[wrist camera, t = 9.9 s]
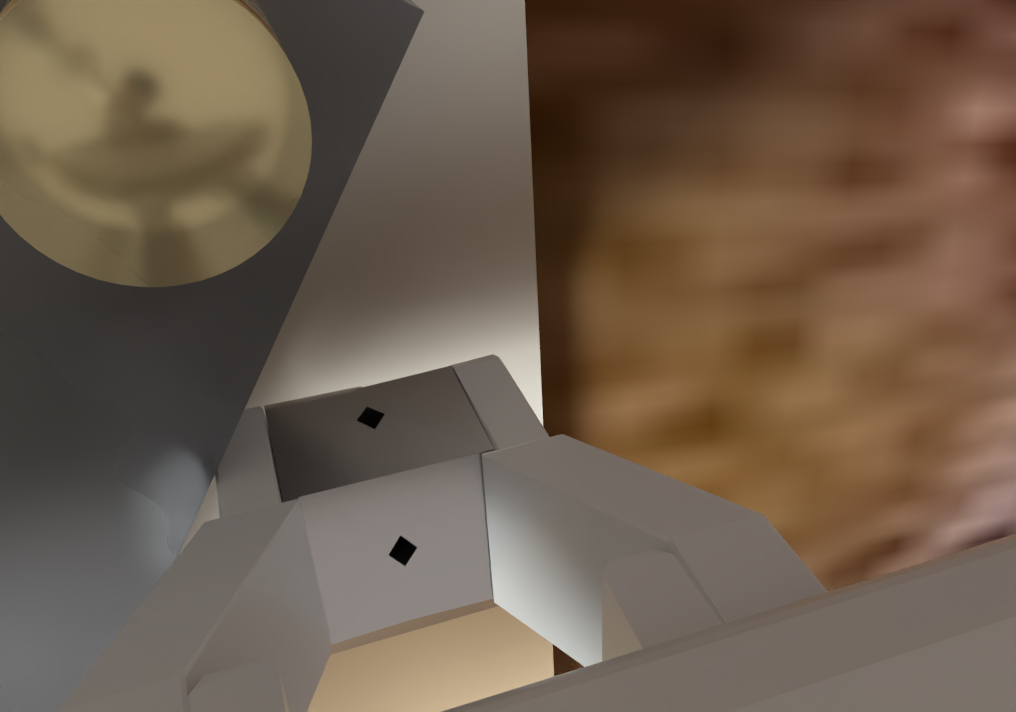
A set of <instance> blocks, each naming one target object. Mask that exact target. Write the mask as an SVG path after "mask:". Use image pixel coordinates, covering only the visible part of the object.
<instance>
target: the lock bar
mask: <svg viewBox="0 0 1016 712" xmlns="http://www.w3.org/2000/svg"><path fill="white" fill-rule="evenodd" d="M423 14H424V11H423V10H422V9H421V8H420V7H419V6H417V5H416V4H415V3H414V2H413V1H411V0H0V712H57V711H58V710H59V709H60V707H61V706H62V705H63V704H64V702H65V701H66V700H67V698H68V697H69V696H70V695H71V693H72V692H73V691H74V689H75V688H76V687H77V686H78V684H79V683H80V682H81V680H82V679H83V678H84V677H85V675H86V674H87V673H88V671H89V670H90V669H91V668H92V666H93V665H94V664H95V662H96V661H97V660H98V659H99V657H100V656H101V655H102V653H103V652H104V651H105V650H106V648H107V647H108V646H109V644H110V643H111V642H112V641H113V639H114V638H115V637H116V635H117V634H118V633H119V632H120V630H121V629H122V628H123V626H124V625H125V624H126V622H127V621H128V620H129V619H130V617H131V616H132V615H133V613H134V612H135V611H136V610H137V608H138V607H139V606H140V604H141V603H142V602H143V601H144V599H145V598H146V597H147V595H148V594H149V593H150V592H151V590H152V589H153V588H154V586H155V585H156V584H157V583H158V581H159V580H160V579H161V577H162V576H163V575H164V574H165V572H166V571H167V570H168V568H169V567H170V566H171V565H172V563H173V562H174V561H175V559H176V558H177V557H178V555H179V553H180V551H181V548H182V546H183V544H184V542H185V540H186V537H187V535H188V533H189V531H190V528H191V526H192V524H193V522H194V520H195V517H196V515H197V513H198V511H199V509H200V506H201V504H202V502H203V500H204V498H205V495H206V493H207V491H208V489H209V486H210V484H211V482H212V480H213V478H214V475H215V473H216V471H217V469H218V467H219V464H220V462H221V460H222V458H223V456H224V453H225V451H226V449H227V447H228V444H229V442H230V440H231V438H232V436H233V433H234V431H235V429H236V427H237V425H238V422H239V420H240V418H241V416H242V414H243V411H244V409H245V407H246V405H247V403H248V400H249V398H250V396H251V394H252V391H253V389H254V387H255V385H256V383H257V380H258V378H259V376H260V374H261V372H262V369H263V367H264V365H265V363H266V361H267V358H268V356H269V354H270V352H271V349H272V347H273V345H274V343H275V341H276V338H277V336H278V334H279V332H280V330H281V327H282V325H283V323H284V321H285V319H286V316H287V314H288V312H289V310H290V307H291V305H292V303H293V301H294V299H295V296H296V294H297V292H298V290H299V288H300V285H301V283H302V281H303V279H304V277H305V274H306V272H307V270H308V268H309V265H310V263H311V261H312V259H313V257H314V254H315V252H316V250H317V248H318V246H319V243H320V241H321V239H322V237H323V235H324V232H325V230H326V228H327V226H328V223H329V221H330V219H331V217H332V215H333V212H334V210H335V208H336V206H337V204H338V201H339V199H340V197H341V195H342V193H343V190H344V188H345V186H346V184H347V182H348V179H349V177H350V175H351V173H352V170H353V168H354V166H355V164H356V162H357V159H358V157H359V155H360V153H361V151H362V148H363V146H364V144H365V142H366V140H367V137H368V135H369V133H370V131H371V128H372V126H373V124H374V122H375V120H376V117H377V115H378V113H379V111H380V109H381V106H382V104H383V102H384V100H385V98H386V95H387V93H388V91H389V89H390V86H391V84H392V82H393V80H394V78H395V75H396V73H397V71H398V69H399V67H400V64H401V62H402V60H403V58H404V56H405V53H406V51H407V49H408V47H409V44H410V42H411V40H412V38H413V36H414V33H415V31H416V29H417V27H418V25H419V22H420V20H421V18H422V16H423Z"/></svg>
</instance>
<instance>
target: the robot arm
mask: <svg viewBox="0 0 1016 712" xmlns="http://www.w3.org/2000/svg"><path fill="white" fill-rule="evenodd" d="M264 409H265V413H264V410H263V408H262V407H261V406H258V407H254V408H249V409H245V410H244V411H243V414H242V416H241V418H240V420H239V422H238V425H237V427H236V429H235V431H234V433H233V436H232V438H231V440H230V442H229V444H228V447H227V449H226V451H225V453H224V456H223V458H222V460H221V462H220V464H219V467H218V469H217V471H216V473H215V478H216V488H217V497H218V507H219V516H220V518H218V519H214V520H210V521H206V522H204V523H203V525H202V526H201V527H200V529H199V530H198V531H197V532H196V534H195V535H194V536H193V538H192V539H191V540H190V541H189V543H188V544H187V545H186V547H185V548H184V549H183V550H182V552H181V553H180V554H179V556H178V557H177V558H176V559H175V561H174V562H173V563H172V565H171V566H170V567H169V568H168V570H167V571H166V572H165V574H164V575H163V576H162V577H161V579H160V580H159V581H158V583H157V584H156V585H155V586H154V588H153V589H152V590H151V592H150V593H149V594H148V595H147V597H146V598H145V599H144V601H143V602H142V603H141V604H140V606H139V607H138V608H137V610H136V611H135V612H134V613H133V615H132V616H131V617H130V619H129V620H128V621H127V622H126V624H125V625H124V626H123V628H122V629H121V630H120V632H119V633H118V634H117V635H116V637H115V638H114V639H113V641H112V642H111V643H110V644H109V646H108V647H107V648H106V650H105V651H104V652H103V653H102V655H101V656H100V657H99V659H98V660H97V661H96V662H95V664H94V665H93V666H92V668H91V669H90V670H89V671H88V673H87V674H86V675H85V677H84V678H83V679H82V680H81V682H80V683H79V684H78V686H77V687H76V688H75V689H74V691H73V692H72V693H71V695H70V696H69V697H68V698H67V700H66V701H65V702H64V704H63V705H62V706H61V707H60V709H59V710H58V711H57V712H307V710H308V708H309V705H310V703H311V700H312V698H313V696H314V693H315V691H316V688H317V686H318V683H319V681H320V679H321V676H322V674H323V671H324V669H325V666H326V664H327V662H328V659H329V657H330V654H331V652H332V644H335V643H338V642H341V641H344V640H348V639H351V638H354V637H357V636H360V635H364V634H367V633H370V632H373V631H376V630H380V629H383V628H386V627H389V626H392V625H396V624H399V623H402V622H405V621H408V620H412V619H415V618H419V617H423V616H427V615H431V614H435V613H439V612H443V611H447V610H451V609H455V608H458V607H462V606H466V605H470V604H474V603H478V602H482V601H486V600H490V599H494V603H496V604H497V605H499V606H500V607H501V608H503V609H504V610H506V611H507V612H509V613H510V614H511V615H513V616H514V617H516V618H517V619H518V620H520V621H521V622H523V623H524V624H525V625H527V626H528V627H530V628H531V629H532V630H534V631H535V632H537V633H538V634H539V635H541V636H542V637H544V638H545V639H546V640H548V641H549V642H551V643H552V644H553V645H555V646H556V647H558V648H559V649H560V650H562V651H563V652H565V653H566V654H567V655H569V656H570V657H572V658H573V659H575V660H576V661H577V662H579V663H580V664H582V665H583V666H584V667H583V668H580V669H577V670H573V671H570V672H567V673H564V674H560V675H557V676H554V677H551V678H548V679H544V680H541V681H538V682H535V683H531V684H528V685H525V686H522V687H519V688H515V689H512V690H509V691H506V692H502V693H499V694H496V695H493V696H490V697H486V698H483V699H480V700H477V701H473V702H470V703H467V704H464V705H461V706H457V707H454V708H451V709H448V710H444V711H441V712H1016V534H1013V535H1010V536H1007V537H1004V538H1001V539H997V540H994V541H991V542H988V543H985V544H981V545H978V546H975V547H972V548H969V549H966V550H962V551H959V552H956V553H953V554H950V555H947V556H943V557H940V558H937V559H934V560H931V561H927V562H924V563H921V564H918V565H914V566H911V567H908V568H905V569H901V570H898V571H895V572H892V573H888V574H885V575H882V576H879V577H875V578H872V579H869V580H866V581H862V582H859V583H856V584H853V585H849V586H846V587H843V588H840V589H836V590H833V591H830V592H828V591H827V590H826V589H825V587H824V586H823V585H822V584H821V583H820V581H819V580H818V579H817V578H816V577H815V575H814V574H813V573H812V572H811V571H810V569H809V568H808V567H807V566H806V565H805V563H804V562H803V561H802V560H801V559H800V558H799V556H798V555H797V554H796V553H795V552H794V550H793V549H792V548H791V547H790V546H789V544H788V543H787V542H786V541H785V540H784V538H783V537H782V536H781V535H780V534H779V532H778V531H777V530H776V529H775V528H774V526H773V525H772V524H771V523H770V522H769V520H768V519H767V518H766V517H765V516H764V515H763V514H760V513H758V512H755V511H753V510H750V509H748V508H745V507H743V506H741V505H738V504H736V503H733V502H731V501H728V500H726V499H723V498H721V497H718V496H716V495H713V494H711V493H708V492H706V491H703V490H701V489H698V488H696V487H693V486H691V485H688V484H686V483H683V482H681V481H678V480H676V479H673V478H671V477H668V476H666V475H663V474H661V473H658V472H656V471H653V470H651V469H648V468H646V467H643V466H641V465H639V464H636V463H634V462H631V461H629V460H626V459H624V458H621V457H619V456H616V455H614V454H611V453H609V452H606V451H604V450H601V449H599V448H596V447H594V446H591V445H589V444H586V443H584V442H581V441H579V440H576V439H574V438H571V437H569V436H566V435H564V434H560V435H556V436H552V437H549V435H548V434H547V432H546V430H545V429H544V427H543V426H542V424H541V422H540V421H539V419H538V418H537V416H536V414H535V413H534V411H533V410H532V408H531V406H530V405H529V403H528V402H527V400H526V398H525V397H524V395H523V394H522V392H521V390H520V389H519V387H518V386H517V384H516V382H515V381H514V379H513V378H512V376H511V374H510V373H509V371H508V370H507V368H506V366H505V365H504V363H503V362H502V360H501V358H500V357H498V356H496V355H494V354H492V355H488V356H484V357H480V358H476V359H472V360H469V361H465V362H461V363H457V364H453V365H449V366H447V367H443V368H439V369H435V370H431V371H427V372H423V373H419V374H415V375H410V376H406V377H402V378H398V379H394V380H390V381H386V382H382V383H378V384H374V385H370V386H366V387H361V386H359V387H354V388H349V389H344V390H339V391H334V392H329V393H325V394H320V395H315V396H310V397H305V398H300V399H295V400H290V401H285V402H280V403H275V404H270V405H265V406H264ZM265 414H266V417H265ZM266 419H267V421H266Z"/></svg>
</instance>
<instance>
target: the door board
mask: <svg viewBox="0 0 1016 712" xmlns="http://www.w3.org/2000/svg"><path fill="white" fill-rule="evenodd" d="M411 1H413V2H414V3H415V4H416V5H417V6H419V7H420V8H421V9H422V10H423V11H424V14H423V16H422V18H421V20H420V22H419V25H418V27H417V29H416V31H415V33H414V36H413V38H412V40H411V42H410V44H409V47H408V49H407V51H406V53H405V56H404V58H403V60H402V62H401V64H400V67H399V69H398V71H397V73H396V75H395V78H394V80H393V82H392V84H391V86H390V89H389V91H388V93H387V95H386V98H385V100H384V102H383V104H382V106H381V109H380V111H379V113H378V115H377V117H376V120H375V122H374V124H373V126H372V128H371V131H370V133H369V135H368V137H367V140H366V142H365V144H364V146H363V148H362V151H361V153H360V155H359V157H358V159H357V162H356V164H355V166H354V168H353V170H352V173H351V175H350V177H349V179H348V182H347V184H346V186H345V188H344V190H343V193H342V195H341V197H340V199H339V201H338V204H337V206H336V208H335V210H334V212H333V215H332V217H331V219H330V221H329V223H328V226H327V228H326V230H325V232H324V235H323V237H322V239H321V241H320V243H319V246H318V248H317V250H316V252H315V254H314V257H313V259H312V261H311V263H310V265H309V268H308V270H307V272H306V274H305V277H304V279H303V281H302V283H301V285H300V288H299V290H298V292H297V294H296V296H295V299H294V301H293V303H292V305H291V307H290V310H289V312H288V314H287V316H286V319H285V321H284V323H283V325H282V327H281V330H280V332H279V334H278V336H277V338H276V341H275V343H274V345H273V347H272V349H271V352H270V354H269V356H268V358H267V361H266V363H265V365H264V367H263V369H262V372H261V374H260V376H259V378H258V380H257V383H256V385H255V387H254V389H253V391H252V394H251V396H250V398H249V400H248V403H247V405H246V407H245V409H249V408H254V407H258V406H261V407H262V408H263V410H264V413H265V409H264V406H265V405H270V404H275V403H280V402H285V401H290V400H295V399H300V398H305V397H310V396H315V395H320V394H325V393H329V392H334V391H339V390H344V389H349V388H354V387H359V386H361V387H366V386H370V385H374V384H378V383H382V382H386V381H390V380H394V379H398V378H402V377H406V376H410V375H415V374H419V373H423V372H427V371H431V370H435V369H439V368H443V367H447V366H449V365H453V364H457V363H461V362H465V361H469V360H472V359H476V358H480V357H484V356H488V355H492V354H494V355H496V356H498V357H500V358H501V360H502V362H503V363H504V365H505V366H506V368H507V370H508V371H509V373H510V374H511V376H512V378H513V379H514V381H515V382H516V384H517V386H518V387H519V389H520V390H521V392H522V394H523V395H524V397H525V398H526V400H527V402H528V403H529V405H530V406H531V408H532V410H533V411H534V413H535V414H536V416H537V418H538V419H539V421H540V422H541V424H542V426H543V409H542V386H541V363H540V340H539V317H538V294H537V271H536V248H535V225H534V202H533V179H532V156H531V133H530V110H529V87H528V64H527V41H526V18H525V0H411ZM245 409H244V410H245ZM265 417H266V414H265ZM266 421H267V419H266ZM218 518H220V516H219V507H218V497H217V488H216V478H215V475H214V478H213V480H212V482H211V484H210V486H209V489H208V491H207V493H206V495H205V498H204V500H203V502H202V504H201V506H200V509H199V511H198V513H197V515H196V517H195V520H194V522H193V524H192V526H191V528H190V531H189V533H188V535H187V537H186V540H185V542H184V544H183V546H182V548H181V551H180V553H181V552H182V550H183V549H184V548H185V547H186V545H187V544H188V543H189V541H190V540H191V539H192V538H193V536H194V535H195V534H196V532H197V531H198V530H199V529H200V527H201V526H202V525H203V523H204V522H206V521H210V520H214V519H218ZM180 553H179V554H180ZM178 556H179V555H178ZM551 677H554V662H553V644H552V643H551V642H549V641H548V640H546V639H545V638H544V637H542V636H541V635H539V634H538V633H537V632H535V631H534V630H532V629H531V628H530V627H528V626H527V625H525V624H524V623H523V622H521V621H520V620H518V619H517V618H516V617H514V616H513V615H511V614H510V613H509V612H507V611H506V610H504V609H503V608H501V607H500V606H499V605H497V604H496V603H494V599H490V600H486V601H482V602H478V603H474V604H470V605H466V606H462V607H458V608H455V609H451V610H447V611H443V612H439V613H435V614H431V615H427V616H423V617H419V618H415V619H412V620H408V621H405V622H402V623H399V624H396V625H392V626H389V627H386V628H383V629H380V630H376V631H373V632H370V633H367V634H364V635H360V636H357V637H354V638H351V639H348V640H344V641H341V642H338V643H335V644H332V652H331V654H330V657H329V659H328V662H327V664H326V666H325V669H324V671H323V674H322V676H321V679H320V681H319V683H318V686H317V688H316V691H315V693H314V696H313V698H312V700H311V703H310V705H309V708H308V710H307V712H441V711H444V710H448V709H451V708H454V707H457V706H461V705H464V704H467V703H470V702H473V701H477V700H480V699H483V698H486V697H490V696H493V695H496V694H499V693H502V692H506V691H509V690H512V689H515V688H519V687H522V686H525V685H528V684H531V683H535V682H538V681H541V680H544V679H548V678H551Z"/></svg>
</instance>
